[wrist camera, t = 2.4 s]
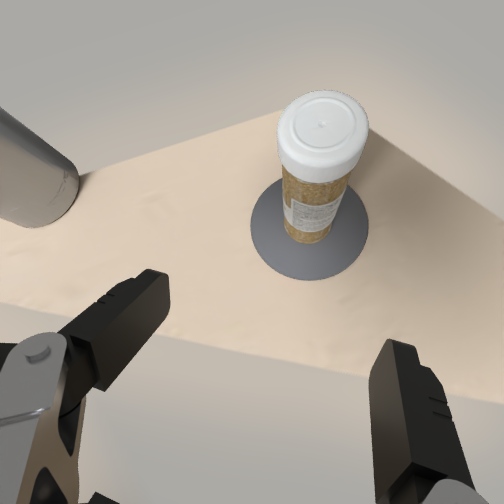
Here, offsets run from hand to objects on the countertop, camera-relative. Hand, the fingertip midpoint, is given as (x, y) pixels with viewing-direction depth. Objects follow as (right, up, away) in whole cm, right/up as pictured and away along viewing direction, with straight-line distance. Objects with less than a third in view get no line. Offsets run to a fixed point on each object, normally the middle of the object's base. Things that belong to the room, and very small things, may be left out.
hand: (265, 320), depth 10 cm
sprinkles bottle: (+5, +5, +17) cm, 18 cm away
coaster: (+5, +5, +17) cm, 18 cm away
